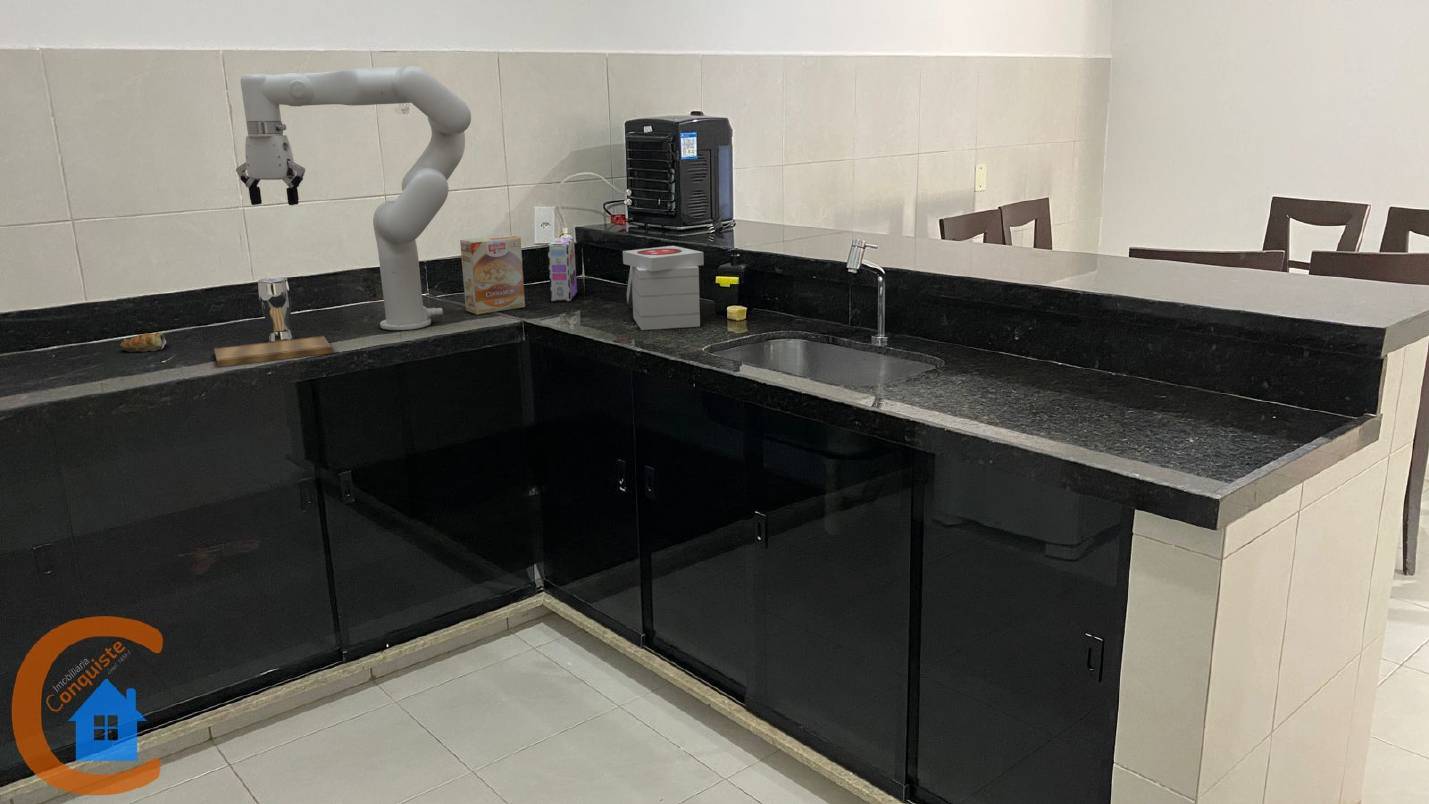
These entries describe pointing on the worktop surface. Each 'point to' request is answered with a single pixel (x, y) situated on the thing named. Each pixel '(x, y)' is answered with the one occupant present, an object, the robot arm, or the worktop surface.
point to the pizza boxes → (664, 286)
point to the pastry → (144, 342)
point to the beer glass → (276, 308)
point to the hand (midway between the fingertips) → (275, 204)
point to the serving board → (272, 351)
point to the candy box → (562, 269)
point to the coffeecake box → (492, 274)
